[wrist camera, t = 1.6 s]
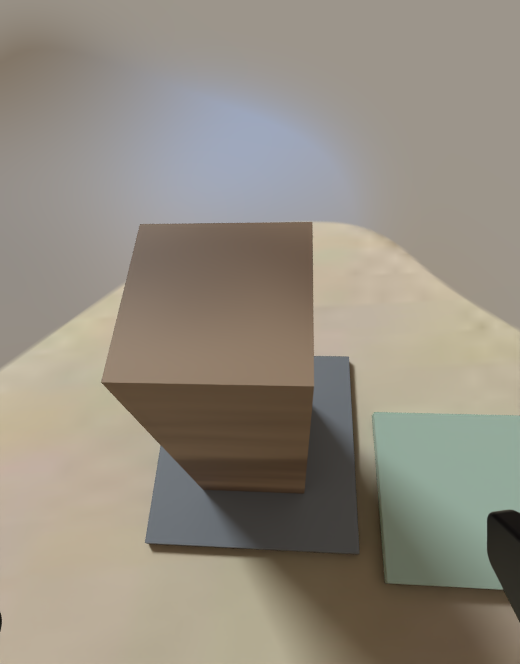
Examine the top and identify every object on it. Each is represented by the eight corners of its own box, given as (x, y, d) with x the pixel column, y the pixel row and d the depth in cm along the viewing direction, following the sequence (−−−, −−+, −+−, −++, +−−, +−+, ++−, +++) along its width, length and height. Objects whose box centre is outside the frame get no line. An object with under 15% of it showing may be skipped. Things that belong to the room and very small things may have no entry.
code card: (358, 554, 19) (359, 553, 18) (147, 543, 19) (144, 542, 19) (347, 360, 23) (348, 356, 23) (176, 357, 24) (175, 354, 23)
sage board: (567, 593, 17) (576, 593, 17) (384, 583, 18) (387, 582, 17) (524, 420, 21) (530, 415, 20) (371, 416, 21) (373, 412, 21)
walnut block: (304, 493, 19) (314, 386, 9) (202, 489, 20) (101, 382, 9) (304, 397, 22) (312, 221, 11) (213, 395, 22) (140, 224, 12)
